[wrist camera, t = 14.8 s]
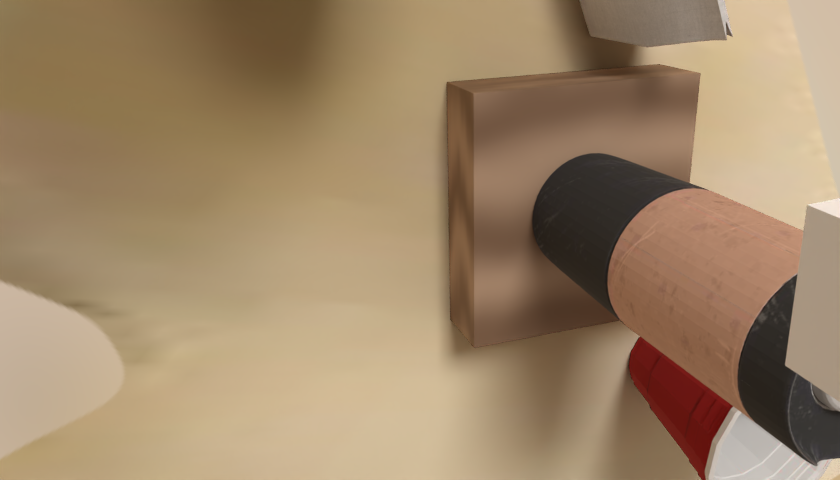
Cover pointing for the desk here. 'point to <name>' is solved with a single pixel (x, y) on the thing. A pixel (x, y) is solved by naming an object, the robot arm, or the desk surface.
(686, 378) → the plastic cup
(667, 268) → the travel mug
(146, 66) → the desk surface
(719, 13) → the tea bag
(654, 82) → the walnut stand
